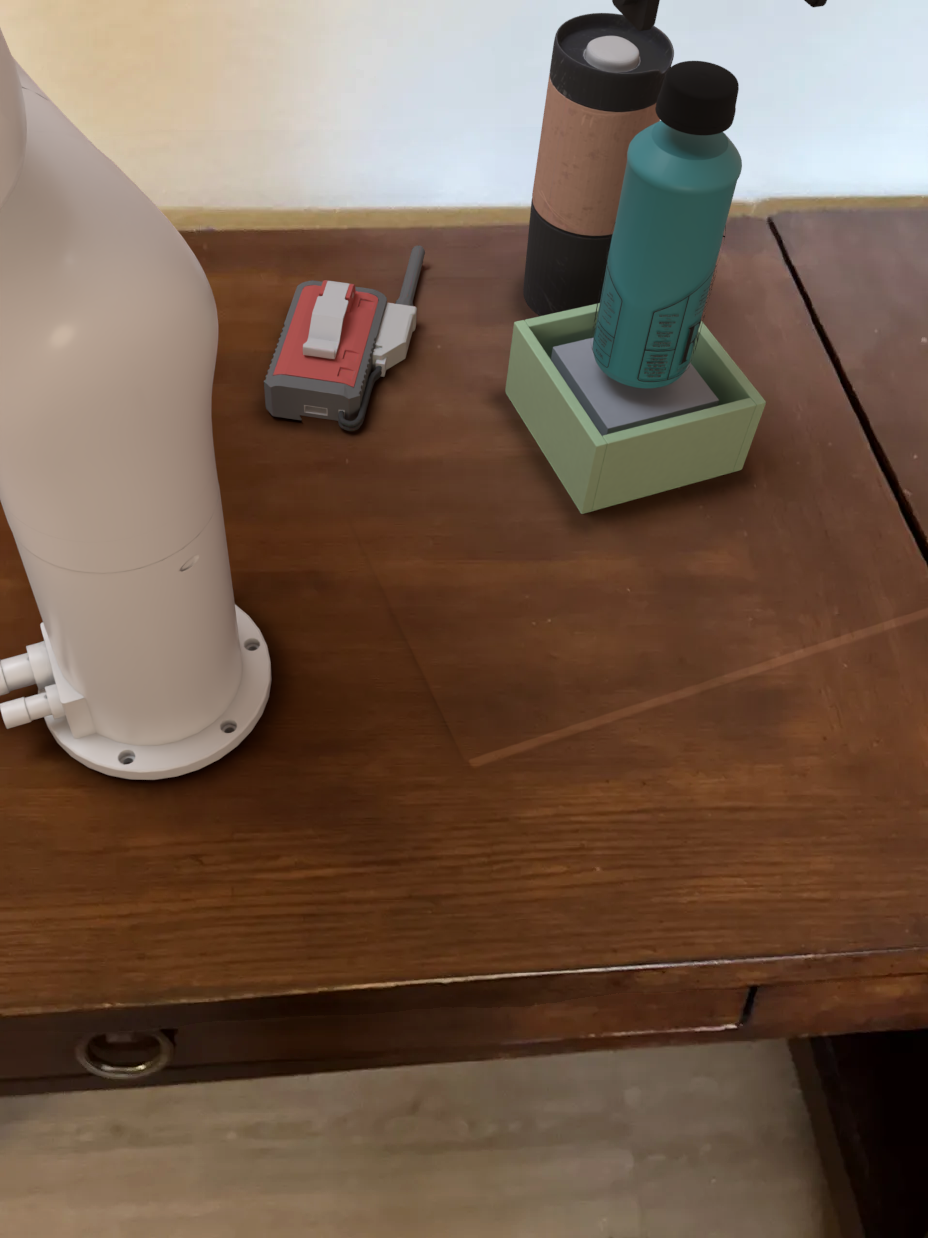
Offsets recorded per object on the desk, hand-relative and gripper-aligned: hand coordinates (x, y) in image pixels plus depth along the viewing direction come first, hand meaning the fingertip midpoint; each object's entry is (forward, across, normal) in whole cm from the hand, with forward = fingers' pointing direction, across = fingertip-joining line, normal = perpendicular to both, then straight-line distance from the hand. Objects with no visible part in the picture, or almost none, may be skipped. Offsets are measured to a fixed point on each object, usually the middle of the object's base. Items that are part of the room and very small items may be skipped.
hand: (718, 4), depth 59 cm
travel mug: (+30, -4, -14) cm, 33 cm away
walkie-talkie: (+30, +13, -15) cm, 36 cm away
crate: (+29, -1, 0) cm, 29 cm away
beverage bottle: (+24, -1, 0) cm, 24 cm away
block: (+29, -1, 0) cm, 29 cm away
